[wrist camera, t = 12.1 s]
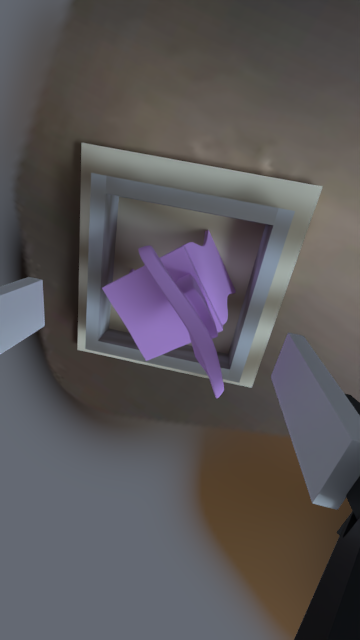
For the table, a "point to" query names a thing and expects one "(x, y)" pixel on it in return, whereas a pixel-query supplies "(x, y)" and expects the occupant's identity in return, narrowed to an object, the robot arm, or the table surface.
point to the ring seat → (178, 229)
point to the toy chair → (176, 303)
